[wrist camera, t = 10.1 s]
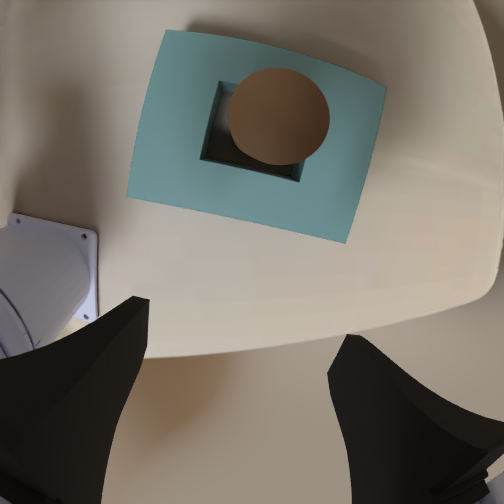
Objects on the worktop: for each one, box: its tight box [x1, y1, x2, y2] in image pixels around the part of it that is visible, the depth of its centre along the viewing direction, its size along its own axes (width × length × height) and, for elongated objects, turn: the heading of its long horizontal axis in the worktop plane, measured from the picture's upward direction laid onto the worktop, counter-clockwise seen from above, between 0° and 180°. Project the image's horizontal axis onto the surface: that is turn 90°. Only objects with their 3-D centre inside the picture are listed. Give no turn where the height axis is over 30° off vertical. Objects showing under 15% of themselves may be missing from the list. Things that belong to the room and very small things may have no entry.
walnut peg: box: [227, 68, 330, 165], centre depth 12 cm, size 3×3×10 cm
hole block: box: [127, 30, 387, 244], centre depth 15 cm, size 13×10×3 cm
